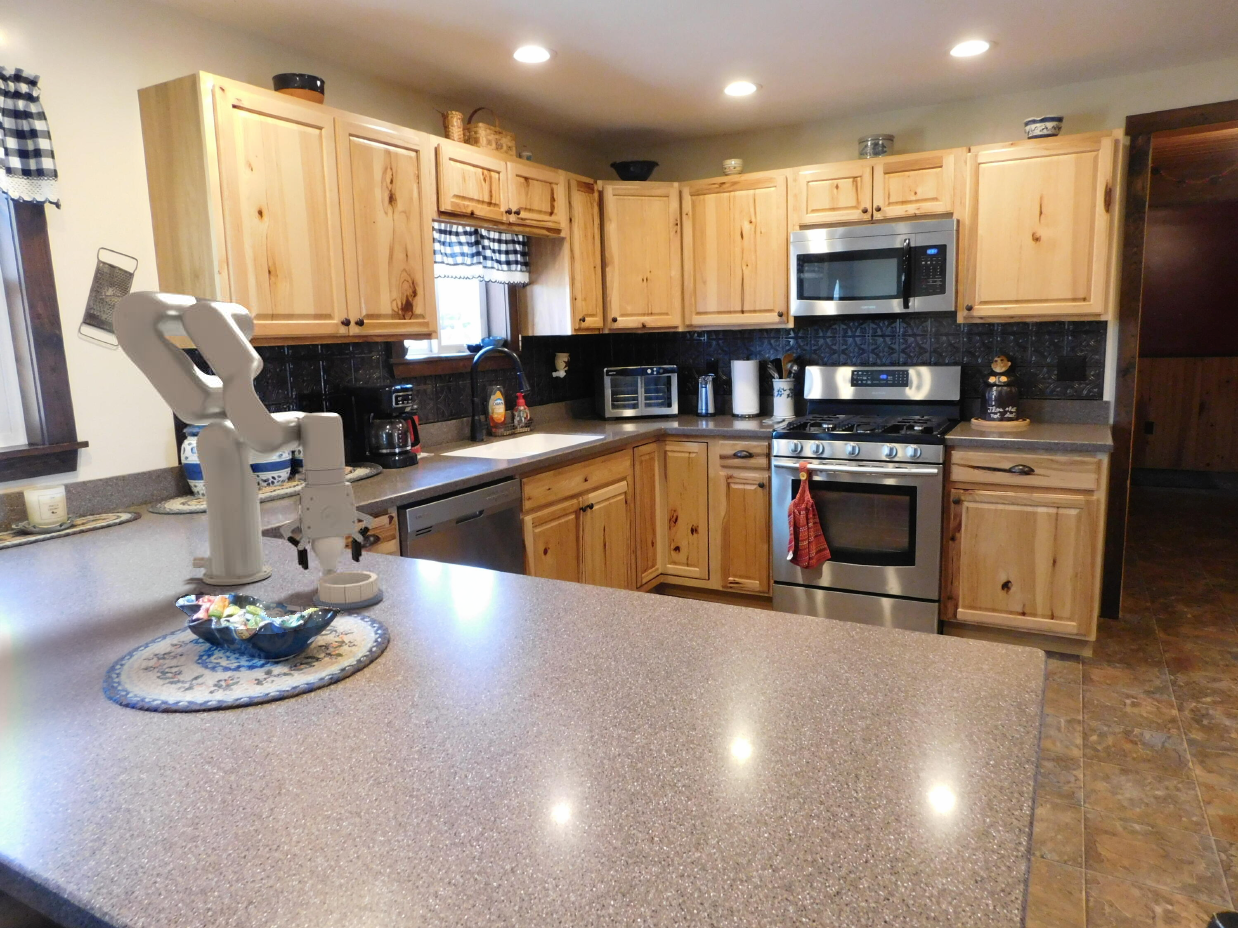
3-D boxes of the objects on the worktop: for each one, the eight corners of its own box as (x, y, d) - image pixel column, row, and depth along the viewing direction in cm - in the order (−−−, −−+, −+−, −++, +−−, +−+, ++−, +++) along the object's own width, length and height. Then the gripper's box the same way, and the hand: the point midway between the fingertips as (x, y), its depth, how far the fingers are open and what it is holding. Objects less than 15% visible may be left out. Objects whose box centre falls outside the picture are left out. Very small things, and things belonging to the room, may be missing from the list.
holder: (301, 609, 142) (300, 587, 141) (329, 590, 153) (328, 569, 153) (369, 610, 141) (368, 588, 140) (392, 590, 153) (391, 570, 152)
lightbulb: (352, 578, 161) (350, 524, 160) (338, 587, 155) (335, 531, 154) (322, 577, 162) (319, 523, 160) (306, 586, 156) (303, 530, 154)
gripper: (280, 484, 148) (287, 575, 150) (376, 475, 157) (381, 561, 159) (273, 479, 154) (279, 567, 156) (364, 471, 163) (369, 554, 166)
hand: (330, 564), depth 158 cm, fingers open, 9 cm apart
